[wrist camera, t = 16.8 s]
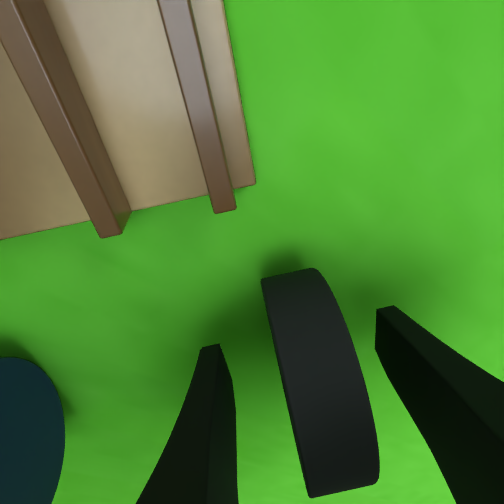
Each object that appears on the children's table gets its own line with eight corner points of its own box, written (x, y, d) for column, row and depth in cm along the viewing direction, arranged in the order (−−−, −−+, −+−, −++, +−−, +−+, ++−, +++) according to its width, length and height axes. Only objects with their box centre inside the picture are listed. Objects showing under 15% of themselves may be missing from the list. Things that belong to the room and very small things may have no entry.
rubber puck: (277, 361, 15) (317, 538, 9) (252, 243, 12) (291, 410, 6) (315, 353, 15) (377, 524, 9) (301, 233, 12) (385, 390, 6)
